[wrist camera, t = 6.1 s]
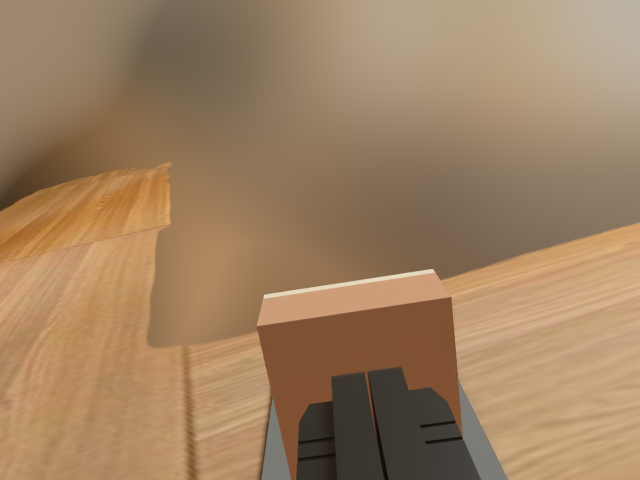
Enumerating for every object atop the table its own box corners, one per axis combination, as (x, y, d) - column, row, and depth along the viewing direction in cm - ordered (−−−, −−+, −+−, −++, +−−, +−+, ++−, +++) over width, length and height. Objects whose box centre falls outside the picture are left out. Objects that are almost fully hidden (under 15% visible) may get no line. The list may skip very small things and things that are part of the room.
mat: (439, 346, 46) (439, 342, 46) (555, 582, 24) (555, 575, 24) (277, 370, 46) (276, 365, 46) (244, 621, 24) (242, 615, 24)
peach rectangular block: (453, 491, 29) (432, 269, 25) (471, 543, 26) (451, 296, 21) (310, 511, 30) (264, 294, 25) (310, 564, 26) (256, 326, 22)
